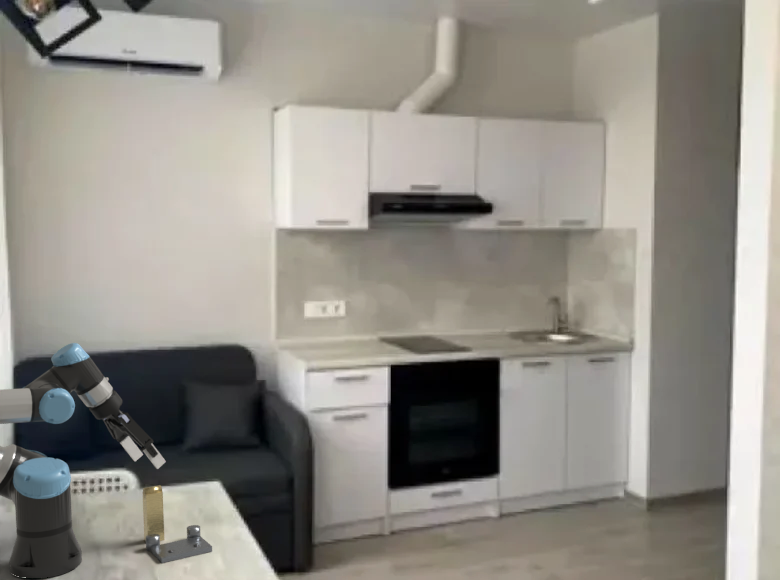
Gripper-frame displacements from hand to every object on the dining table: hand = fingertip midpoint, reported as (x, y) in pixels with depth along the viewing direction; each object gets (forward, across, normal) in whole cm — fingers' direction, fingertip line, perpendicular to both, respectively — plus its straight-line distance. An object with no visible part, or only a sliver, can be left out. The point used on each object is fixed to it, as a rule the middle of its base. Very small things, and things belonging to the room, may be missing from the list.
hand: (149, 461), depth 218 cm
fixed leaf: (+13, -21, +12) cm, 27 cm away
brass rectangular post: (+12, -11, +13) cm, 21 cm away
